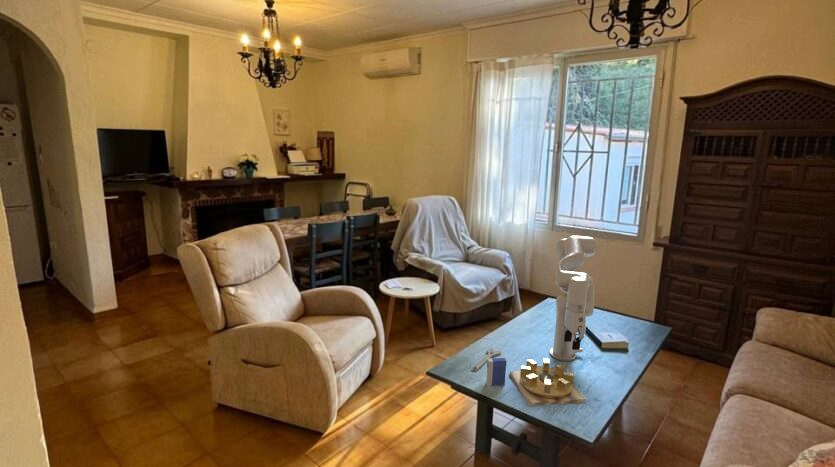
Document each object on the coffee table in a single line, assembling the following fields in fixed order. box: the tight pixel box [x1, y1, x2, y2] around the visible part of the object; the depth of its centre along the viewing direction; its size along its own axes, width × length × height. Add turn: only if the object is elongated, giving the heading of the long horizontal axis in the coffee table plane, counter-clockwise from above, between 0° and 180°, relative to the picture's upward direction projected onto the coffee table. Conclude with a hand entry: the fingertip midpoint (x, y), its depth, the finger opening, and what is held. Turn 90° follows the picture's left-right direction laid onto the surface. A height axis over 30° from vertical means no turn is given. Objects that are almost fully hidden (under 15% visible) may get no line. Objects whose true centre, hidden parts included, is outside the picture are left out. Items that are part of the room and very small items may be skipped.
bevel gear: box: [520, 357, 575, 399], centre depth 190 cm, size 22×22×6 cm
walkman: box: [485, 357, 507, 387], centre depth 192 cm, size 8×3×12 cm, turn 96°
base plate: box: [509, 370, 586, 407], centre depth 191 cm, size 24×24×2 cm
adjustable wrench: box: [471, 347, 502, 372], centre depth 213 cm, size 25×6×2 cm, turn 140°
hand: (571, 345), depth 188 cm, fingers open, 6 cm apart
